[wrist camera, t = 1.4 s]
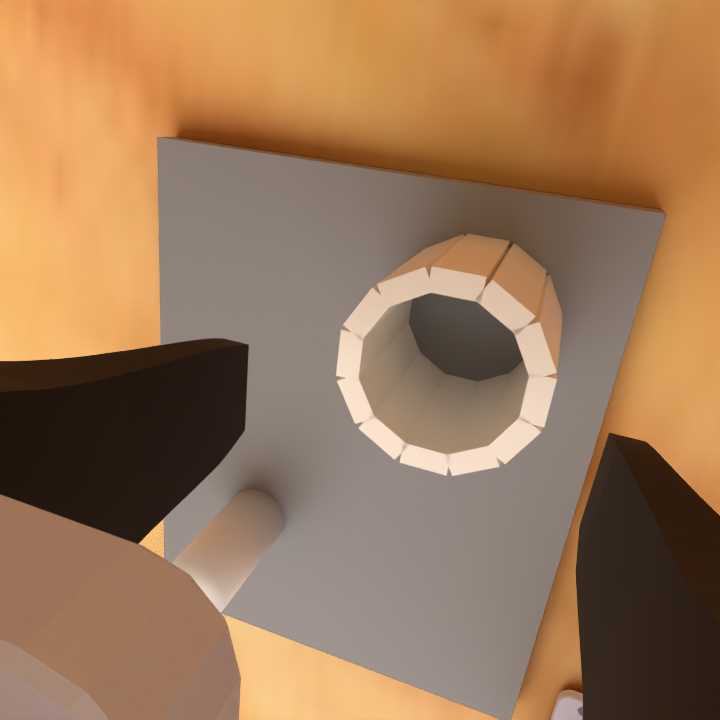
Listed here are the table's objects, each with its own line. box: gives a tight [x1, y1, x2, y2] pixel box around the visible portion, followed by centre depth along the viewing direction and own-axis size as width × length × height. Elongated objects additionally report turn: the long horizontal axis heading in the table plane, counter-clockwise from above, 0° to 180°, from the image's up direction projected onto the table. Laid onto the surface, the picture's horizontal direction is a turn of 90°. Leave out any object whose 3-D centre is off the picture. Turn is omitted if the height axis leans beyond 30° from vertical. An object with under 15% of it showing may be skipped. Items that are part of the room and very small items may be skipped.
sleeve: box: [336, 234, 563, 476], centre depth 17 cm, size 5×5×5 cm
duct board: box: [157, 137, 666, 720], centre depth 20 cm, size 16×20×6 cm
